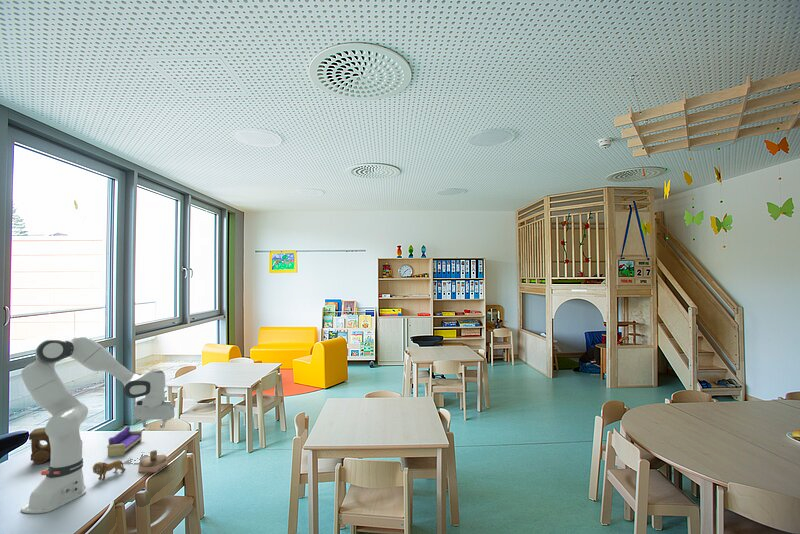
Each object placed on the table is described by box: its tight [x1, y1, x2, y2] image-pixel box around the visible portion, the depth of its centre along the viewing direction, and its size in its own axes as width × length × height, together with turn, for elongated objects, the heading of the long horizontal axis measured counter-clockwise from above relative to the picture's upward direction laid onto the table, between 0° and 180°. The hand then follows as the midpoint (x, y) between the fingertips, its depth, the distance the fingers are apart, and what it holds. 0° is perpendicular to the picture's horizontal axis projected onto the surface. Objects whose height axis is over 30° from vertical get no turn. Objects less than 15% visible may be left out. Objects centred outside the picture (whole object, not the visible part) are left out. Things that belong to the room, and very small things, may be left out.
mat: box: [122, 454, 149, 466], centre depth 210 cm, size 14×14×1 cm
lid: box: [138, 449, 168, 467], centre depth 200 cm, size 12×12×5 cm
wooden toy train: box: [28, 426, 51, 465], centre depth 211 cm, size 20×11×17 cm, turn 119°
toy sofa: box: [106, 425, 143, 457], centre depth 223 cm, size 21×9×10 cm, turn 9°
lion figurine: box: [92, 459, 126, 481], centre depth 192 cm, size 15×5×9 cm, turn 154°
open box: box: [137, 457, 169, 474], centre depth 199 cm, size 9×9×4 cm
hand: (153, 427), depth 201 cm, fingers open, 8 cm apart
